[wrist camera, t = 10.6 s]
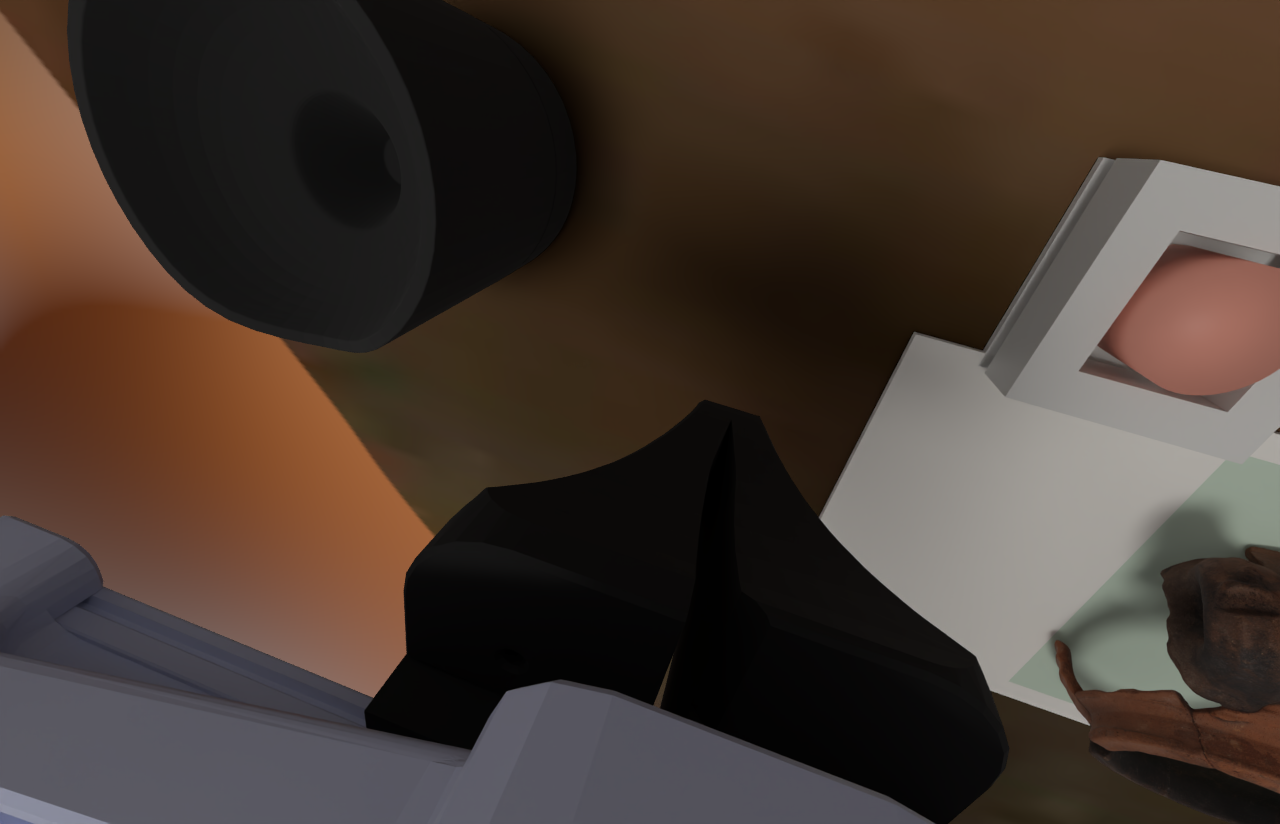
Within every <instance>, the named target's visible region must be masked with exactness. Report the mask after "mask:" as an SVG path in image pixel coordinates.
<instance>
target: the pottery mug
mask: <svg viewBox="0 0 1280 824" xmlns="http://www.w3.org/2000/svg"><path fill="white" fill-rule="evenodd" d="M1245 556H1246V558H1247V559H1248V560H1249V561H1248V560H1245V559H1242V558H1237V557H1228V558H1218V557H1213V558H1200V559H1194V560H1190V561H1186V562H1182V563H1179V564H1175V565H1172V566H1170V567H1168V568H1166V569H1164V570H1162V571H1161V573H1160V575H1161V576H1162V578H1163V579H1164V582H1163V584H1162V589H1163V591H1164V595H1165V597H1166V599H1167V606H1168V608H1169V611H1170V615H1169V617H1168V618H1167V620H1166V628H1167V632H1168V641H1167V652H1168V655H1169V657H1170V659H1171V660H1172V662H1173V663H1174V665H1175V666H1176V668H1177V669H1178V671H1179V673H1180V674H1181V677H1182V679H1183V681H1184V682H1185V684H1186V685H1187V686H1188V687H1189V688H1190V689H1191V690H1192V691H1193V692H1194V693H1196V694H1197V695H1199V696H1200V697H1202V698H1204V699H1206V700H1209V701H1213V702H1215V703H1219V704H1221V705H1222V706H1219V707H1212V708H1200V709H1193V708H1191V707H1190V706H1189V704H1188V702H1187V701H1186V700H1185V699H1184V698H1183V696H1182V695H1181V694H1180V693H1179V692H1177V691H1175V690H1153V691H1141V690H1137V689H1119V690H1117V691H1114V692H1105V691H1101V690H1084V691H1083V689H1082V688H1081V686H1080V685H1079V683H1078V682H1077V680H1076V677H1075V675H1074V671H1073V665H1072V656H1071V651H1070V649H1069V647H1068V646H1067V645H1066V644H1065V643H1063V642H1062V641H1059V640H1056V641H1055V650H1056V663H1057V666H1058V667H1059V677H1060V680H1061V682H1062V684H1063V685H1064V687H1065V688H1066V690H1067V692H1068V695H1069V697H1070V698H1071V700H1072V701H1073V703H1074V705H1075V706H1076V708H1077V710H1078V711H1079V712H1080V713H1081V714H1082V716H1083V717H1084V718H1085V719H1086V720H1087V722H1088V723H1089V724H1090V726H1091V729H1090V732H1089V738H1090V746H1089V752H1090V753H1091V755H1092V756H1093V757H1095V758H1096V759H1097V760H1098V761H1100V762H1101V763H1102V764H1104V765H1105V766H1107V767H1108V768H1110V769H1111V770H1113V771H1114V772H1116V773H1118V774H1120V775H1122V776H1124V777H1125V778H1127V779H1129V780H1131V781H1133V782H1135V783H1137V784H1139V785H1141V786H1143V787H1145V788H1147V789H1149V790H1151V791H1153V792H1155V793H1157V794H1160V795H1162V796H1165V797H1167V798H1169V799H1171V800H1173V801H1175V802H1177V803H1180V804H1183V805H1185V806H1187V807H1190V808H1192V809H1194V810H1197V811H1200V812H1202V813H1205V814H1207V815H1209V816H1212V817H1215V818H1219V819H1221V820H1224V821H1226V822H1229V823H1232V824H1280V552H1278V551H1274V550H1269V549H1265V548H1259V547H1249V548H1247V549H1246V550H1245Z"/></svg>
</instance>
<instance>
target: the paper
mask: <svg viewBox="0 0 1280 824" xmlns="http://www.w3.org/2000/svg"><path fill="white" fill-rule="evenodd" d="M985 355H986V353H985V352H984V351H983V350H979V349H975V348H972V347H968V346H964V345H961V344H957V343H954V342H950V341H946V340H943V339H939V338H935V337H932V336H928V335H925V334H921V333H917V332H914V333H913V335H912V337H911V339H910V340H909V342H908V344H907V346H906V348H905V350H904V352H903V354H902V356H901V358H900V360H899V362H898V364H897V366H896V368H895V370H894V372H893V374H892V376H891V378H890V380H889V381H888V383H887V385H886V387H885V389H884V391H883V393H882V395H881V397H880V399H879V401H878V403H877V405H876V407H875V409H874V411H873V413H872V415H871V417H870V419H869V420H868V422H867V424H866V426H865V428H864V430H863V432H862V434H861V436H860V438H859V440H858V442H857V444H856V446H855V448H854V450H853V452H852V454H851V456H850V458H849V460H848V461H847V463H846V465H845V467H844V469H843V471H842V473H841V475H840V477H839V479H838V481H837V483H836V485H835V487H834V489H833V491H832V493H831V495H830V497H829V499H828V500H827V502H826V504H825V506H824V508H823V510H822V512H821V514H820V516H819V518H820V520H821V521H822V522H823V523H824V525H825V526H826V527H827V528H828V530H829V531H830V532H831V533H832V534H833V535H834V536H835V537H836V539H837V540H838V541H839V542H840V543H841V544H842V545H843V546H844V547H845V548H846V549H847V550H848V551H849V552H850V553H851V554H852V555H853V556H854V557H855V558H856V559H857V560H858V561H859V562H860V563H861V564H862V565H863V566H864V567H865V568H866V569H867V570H868V571H869V572H870V573H871V574H872V575H873V576H874V577H876V578H877V579H878V580H879V581H880V582H881V583H882V584H883V585H884V586H886V587H887V588H888V589H889V590H890V591H892V592H893V593H894V594H895V595H896V596H897V597H899V598H900V599H901V600H902V601H903V602H904V603H906V604H907V605H908V606H909V607H910V608H912V609H913V610H914V611H915V612H917V613H918V614H919V615H921V616H922V617H923V618H925V619H926V620H927V621H929V622H930V623H931V624H933V625H934V626H936V627H937V628H938V629H940V630H941V631H942V632H944V633H945V634H946V635H948V636H949V637H950V638H952V639H953V640H955V641H956V642H957V643H959V644H960V645H961V646H963V647H964V648H965V649H967V650H968V651H969V652H971V653H972V654H974V655H975V656H976V658H977V660H978V662H979V664H980V667H981V669H982V671H983V674H984V676H985V679H986V681H987V684H988V686H989V689H990V690H991V691H993V692H996V693H999V694H1002V695H1005V696H1008V697H1010V698H1013V699H1016V700H1019V701H1022V702H1025V703H1027V704H1030V705H1033V706H1036V707H1039V708H1042V709H1044V710H1047V711H1050V712H1053V713H1056V714H1059V715H1062V716H1064V717H1067V718H1070V719H1073V720H1076V721H1079V722H1081V723H1084V724H1087V725H1090V724H1089V723H1088V722H1087V720H1086V719H1085V718H1084V717H1083V716H1082V714H1081V713H1080V712H1079V711H1078V710H1077V708H1076V706H1075V705H1074V703H1073V701H1072V700H1071V698H1070V697H1069V695H1068V692H1067V690H1066V688H1065V687H1064V685H1063V684H1062V682H1061V680H1060V677H1059V667H1058V666H1057V663H1056V650H1055V641H1056V640H1059V641H1062V642H1063V643H1065V644H1066V645H1067V646H1068V647H1069V649H1070V651H1071V656H1072V665H1073V671H1074V675H1075V677H1076V680H1077V682H1078V683H1079V685H1080V686H1081V688H1082V689H1083V691H1084V690H1101V691H1105V692H1114V691H1117V690H1119V689H1137V690H1141V691H1153V690H1175V691H1177V692H1179V693H1180V694H1181V695H1182V696H1183V698H1184V699H1185V700H1186V701H1187V702H1188V704H1189V706H1190V707H1191V708H1193V709H1200V708H1212V707H1219V706H1222V705H1221V704H1219V703H1215V702H1213V701H1209V700H1206V699H1204V698H1202V697H1200V696H1199V695H1197V694H1196V693H1194V692H1193V691H1192V690H1191V689H1190V688H1189V687H1188V686H1187V685H1186V684H1185V682H1184V681H1183V679H1182V677H1181V674H1180V673H1179V671H1178V669H1177V668H1176V666H1175V665H1174V663H1173V662H1172V660H1171V659H1170V657H1169V655H1168V652H1167V641H1168V632H1167V628H1166V620H1167V618H1168V617H1169V615H1170V611H1169V608H1168V606H1167V599H1166V597H1165V595H1164V591H1163V589H1162V584H1163V582H1164V579H1163V578H1162V576H1161V575H1160V573H1161V571H1162V570H1164V569H1166V568H1168V567H1170V566H1172V565H1175V564H1179V563H1182V562H1186V561H1190V560H1194V559H1200V558H1213V557H1218V558H1228V557H1237V558H1242V559H1245V560H1248V559H1247V558H1246V556H1245V550H1246V549H1247V548H1249V547H1259V548H1265V549H1269V550H1274V551H1278V552H1280V432H1276V431H1275V432H1274V433H1273V434H1272V435H1271V436H1270V437H1269V438H1268V439H1267V440H1266V441H1265V442H1264V443H1263V444H1262V445H1261V446H1260V447H1259V448H1258V449H1257V450H1256V451H1255V452H1254V453H1253V454H1252V455H1251V456H1250V457H1249V458H1248V459H1247V460H1246V461H1245V462H1244V463H1243V464H1238V463H1235V462H1231V461H1228V460H1224V459H1221V458H1217V457H1214V456H1210V455H1207V454H1203V453H1200V452H1196V451H1193V450H1189V449H1186V448H1182V447H1179V446H1175V445H1172V444H1168V443H1165V442H1161V441H1158V440H1154V439H1151V438H1147V437H1144V436H1140V435H1137V434H1133V433H1130V432H1126V431H1123V430H1119V429H1116V428H1112V427H1109V426H1105V425H1102V424H1098V423H1094V422H1091V421H1087V420H1084V419H1080V418H1077V417H1073V416H1070V415H1066V414H1063V413H1059V412H1056V411H1052V410H1049V409H1045V408H1042V407H1038V406H1035V405H1031V404H1028V403H1024V402H1021V401H1017V400H1014V399H1010V398H1007V397H1005V396H1004V395H1003V394H1002V393H1001V392H1000V391H999V389H998V388H997V387H996V386H995V385H994V384H993V382H992V381H991V380H990V379H989V378H988V377H987V375H986V374H985V371H986V370H987V368H985V367H981V366H978V365H979V364H982V363H981V361H982V359H983V358H984V356H985ZM989 357H990V356H989ZM987 358H988V357H987ZM985 359H986V357H985ZM985 359H983V360H985ZM984 362H986V361H984ZM987 362H988V361H987ZM991 362H992V361H991ZM983 365H984V363H983ZM984 366H985V365H984ZM987 366H988V365H987ZM1248 561H1249V560H1248Z"/></svg>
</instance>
